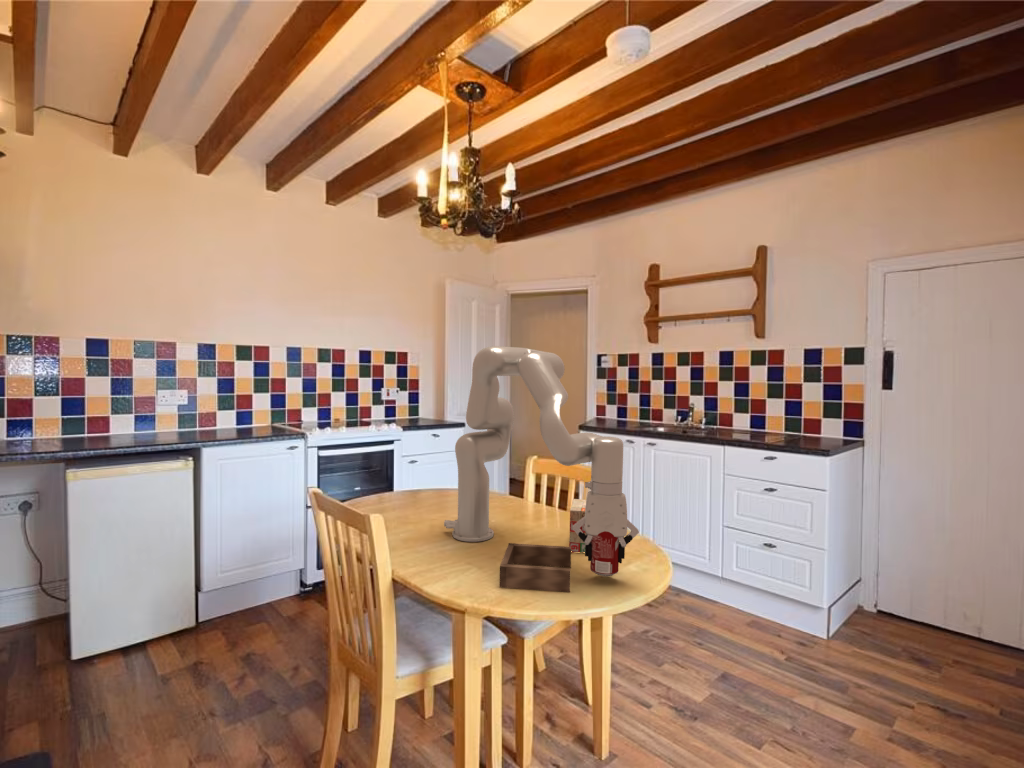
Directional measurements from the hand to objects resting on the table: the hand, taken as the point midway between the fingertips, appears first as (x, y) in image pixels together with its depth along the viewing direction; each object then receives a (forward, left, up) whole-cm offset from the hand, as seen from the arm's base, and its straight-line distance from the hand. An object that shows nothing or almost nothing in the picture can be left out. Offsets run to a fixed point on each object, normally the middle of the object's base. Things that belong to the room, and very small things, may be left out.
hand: (604, 559), depth 126 cm
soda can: (0, 0, -3) cm, 3 cm away
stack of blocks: (-5, +28, -5) cm, 29 cm away
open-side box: (-16, 0, -5) cm, 17 cm away
